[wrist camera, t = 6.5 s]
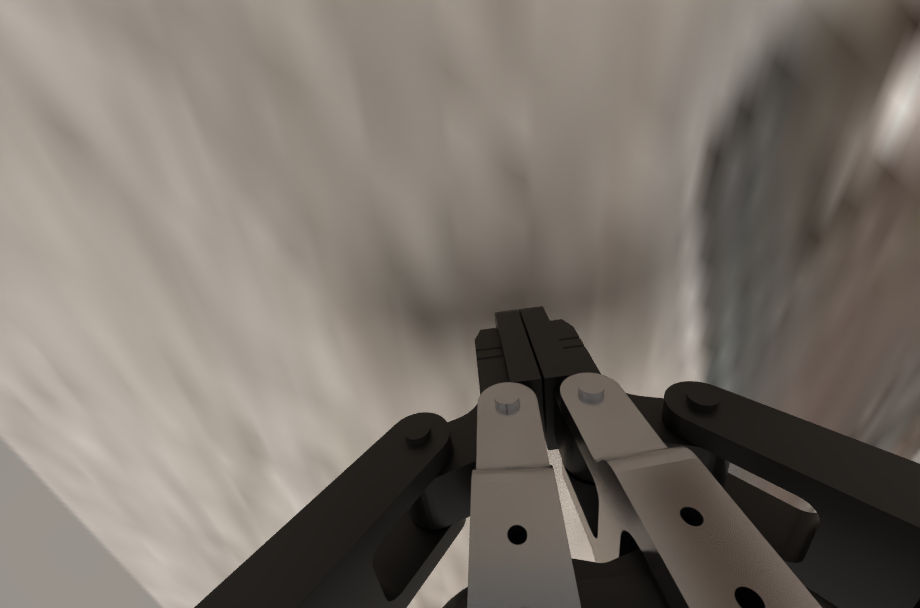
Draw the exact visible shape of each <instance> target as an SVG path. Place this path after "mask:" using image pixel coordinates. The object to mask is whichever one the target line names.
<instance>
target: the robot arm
mask: <svg viewBox="0 0 920 608" xmlns="http://www.w3.org/2000/svg"><path fill="white" fill-rule="evenodd" d="M495 322H496V328H492V329H484V330H480V332H479V333H478V335H477V337H476V339H475V346H476V356H477V366H478V376H479V385H480V396H479V399H478V403H477V405H476V406H475V407H474V408H473V409H472V410H471V411H470V412H469V413H468V414H466V415H464V416H462V417H460V418H458V419H455V420H453V421H450V422H446V420H445V419H444V418H443V417H441V416H439V415H437V414H434V413H426V412H424V413H417V414H413V415H410V416H408V417H405V418H404V419H402V420H400V421H399V422H398V423H397V424H396V425H394V426H393V427H392V428H391V429H390V430H389V431H388V432H387V433H386V434H385V435H383V436H382V437H381V438H380V439H379V440H378V441H377V442H376V443H375V444H374V445H372V446H371V447H370V448H369V449H368V450H367V451H366V452H365V453H364V454H363V455H361V456H360V457H359V458H358V459H357V460H356V461H355V462H354V463H353V464H352V465H350V466H349V467H348V468H347V469H346V470H345V471H344V472H343V473H342V474H341V475H339V476H338V477H337V478H336V479H335V480H334V481H333V482H332V483H331V484H330V485H328V486H327V487H326V488H325V489H324V490H323V491H322V492H321V493H320V494H319V495H317V496H316V497H315V498H314V499H313V500H312V501H311V502H310V503H309V504H308V505H306V506H305V507H304V508H303V509H302V510H301V511H300V512H299V513H298V514H297V515H295V516H294V517H293V518H292V519H291V520H290V521H289V522H288V523H287V524H286V525H284V526H283V527H282V528H281V529H280V530H279V531H278V532H277V533H276V534H275V535H273V536H272V537H271V538H270V539H269V540H268V541H267V542H266V543H265V544H264V545H263V546H261V547H260V548H259V549H258V550H257V551H256V552H255V553H254V554H253V555H252V556H250V557H249V558H248V559H247V560H246V561H245V562H244V563H243V564H242V565H241V566H239V567H238V568H237V569H236V570H235V571H234V572H233V573H232V574H231V575H230V576H228V577H227V578H226V579H225V580H224V581H223V582H222V583H221V584H220V585H219V586H217V587H216V588H215V589H214V590H213V591H212V592H211V593H210V594H209V595H208V596H206V597H205V598H204V599H203V600H202V601H201V602H200V603H199V604H198V605H197V606H195V607H194V608H406V607H407V606H408V605H409V603H410V602H411V600H412V599H413V598H414V596H415V595H416V593H417V592H418V591H419V589H420V588H421V586H422V585H423V583H424V582H425V581H426V579H427V578H428V576H429V575H430V574H431V572H432V571H433V569H434V568H435V566H436V565H437V564H438V562H439V561H440V559H441V558H442V557H443V555H444V554H445V552H446V551H447V549H448V548H449V547H450V545H451V544H452V542H453V541H454V540H455V538H456V537H457V535H458V534H459V532H460V531H461V530H462V528H463V526H464V524H465V521H466V518H467V517H469V516H470V538H469V568H468V587H467V588H465V589H463V590H462V591H461V592H459V593H458V594H457V595H455V596H454V597H453V598H452V599H450V600H449V601H448V602H447V604H446V605H445V606H444V607H443V608H920V464H919V463H916V462H914V461H911V460H908V459H906V458H903V457H900V456H898V455H895V454H893V453H890V452H887V451H885V450H882V449H879V448H877V447H874V446H871V445H869V444H866V443H864V442H861V441H858V440H856V439H853V438H850V437H848V436H845V435H842V434H840V433H837V432H835V431H832V430H829V429H827V428H824V427H821V426H819V425H816V424H814V423H811V422H808V421H806V420H803V419H800V418H798V417H795V416H792V415H790V414H787V413H785V412H782V411H779V410H777V409H774V408H771V407H769V406H766V405H763V404H761V403H758V402H756V401H753V400H750V399H748V398H745V397H742V396H740V395H737V394H734V393H732V392H729V391H727V390H724V389H721V388H719V387H716V386H713V385H710V384H706V383H702V382H693V381H687V382H679V383H676V384H673V385H671V386H670V387H669V388H667V390H666V391H665V394H664V398H654V397H644V396H636V395H631V394H628V393H625V392H624V390H623V389H622V388H621V386H620V385H619V384H618V383H617V382H616V381H614V380H613V379H611V378H609V377H607V376H605V375H601V373H600V372H599V370H598V368H597V366H596V365H595V363H594V361H593V360H592V358H591V356H590V354H589V353H588V351H587V349H586V348H585V347H584V344H583V342H582V341H581V339H579V336H578V334H577V332H576V330H575V329H574V327H573V326H571V325H570V324H568V323H567V322H565V321H564V320H562V319H560V320H553V321H550V320H549V318H548V316H547V314H546V312H545V310H544V308H543V307H542V306H541V307H533V308H526V309H519V312H518V310H511V311H503V312H496V313H495ZM545 442H546V443H545ZM546 445H547V448H548V450H554V449H559V452H560V455H561V458H562V474H563V478H564V480H565V483H566V485H567V488H568V490H569V493H570V495H571V498H572V500H573V503H574V505H575V508H576V510H577V513H578V515H579V518H580V520H581V523H582V525H583V528H584V530H585V533H586V535H587V538H588V540H589V543H590V545H591V548H592V551H593V554H594V558H595V562H590V561H584V560H578V559H572V558H571V554H570V549H569V544H568V539H567V534H566V528H565V523H564V518H563V513H562V508H561V503H560V498H559V493H558V488H557V483H556V478H555V473H554V469H553V466H552V465H550V464H549V459H548V454H547V449H546ZM730 462H731V463H733V464H735V465H737V466H739V467H741V468H743V469H745V470H747V471H749V472H751V473H753V474H755V475H757V476H759V477H761V478H763V479H765V480H767V481H769V482H771V483H773V484H775V485H777V486H779V487H781V488H783V489H785V490H787V491H789V492H791V493H793V494H795V495H797V496H799V497H800V498H802V499H804V500H805V501H807V502H808V503H809V504H810V505H811V506H812V507H813V508H814V509H815V510H816V511H817V513H809V512H805V511H802V510H799V509H797V508H795V507H793V506H791V505H789V504H787V503H785V502H784V501H782V500H780V499H778V498H776V497H774V496H772V495H770V494H768V493H766V492H764V491H762V490H760V489H758V488H757V487H755V486H753V485H751V484H749V483H747V482H745V481H743V480H741V479H739V478H737V477H735V476H733V475H732V474H730V473H728V469H729V465H730Z"/></svg>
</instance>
